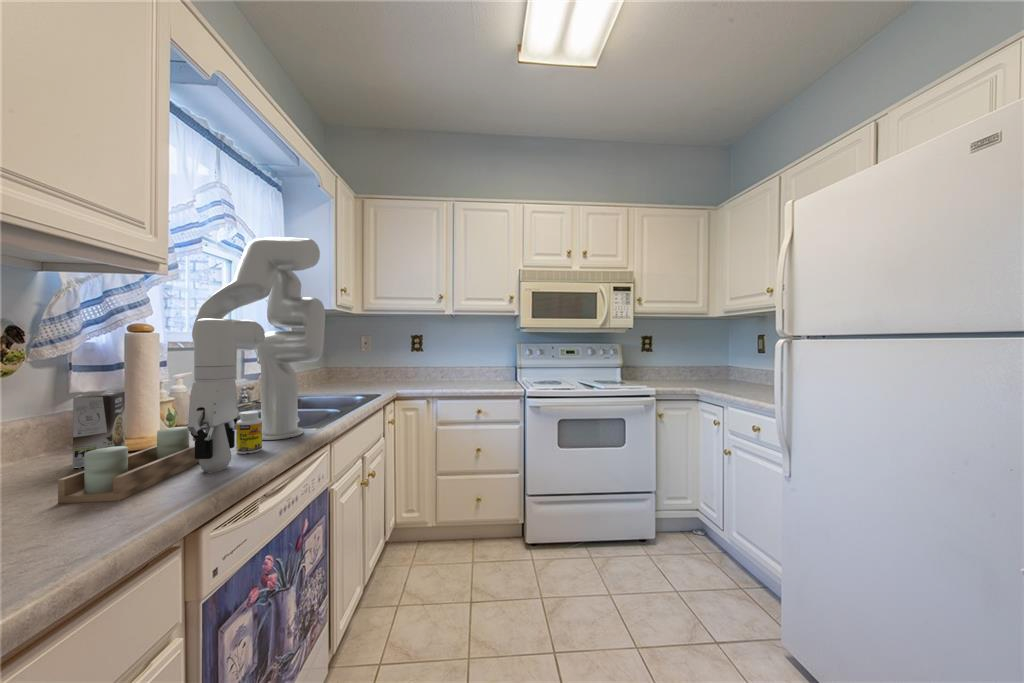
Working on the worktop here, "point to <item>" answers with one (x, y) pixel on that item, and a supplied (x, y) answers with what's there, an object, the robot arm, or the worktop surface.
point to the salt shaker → (217, 451)
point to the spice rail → (128, 469)
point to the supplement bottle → (249, 433)
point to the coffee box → (97, 423)
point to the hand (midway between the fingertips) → (215, 452)
